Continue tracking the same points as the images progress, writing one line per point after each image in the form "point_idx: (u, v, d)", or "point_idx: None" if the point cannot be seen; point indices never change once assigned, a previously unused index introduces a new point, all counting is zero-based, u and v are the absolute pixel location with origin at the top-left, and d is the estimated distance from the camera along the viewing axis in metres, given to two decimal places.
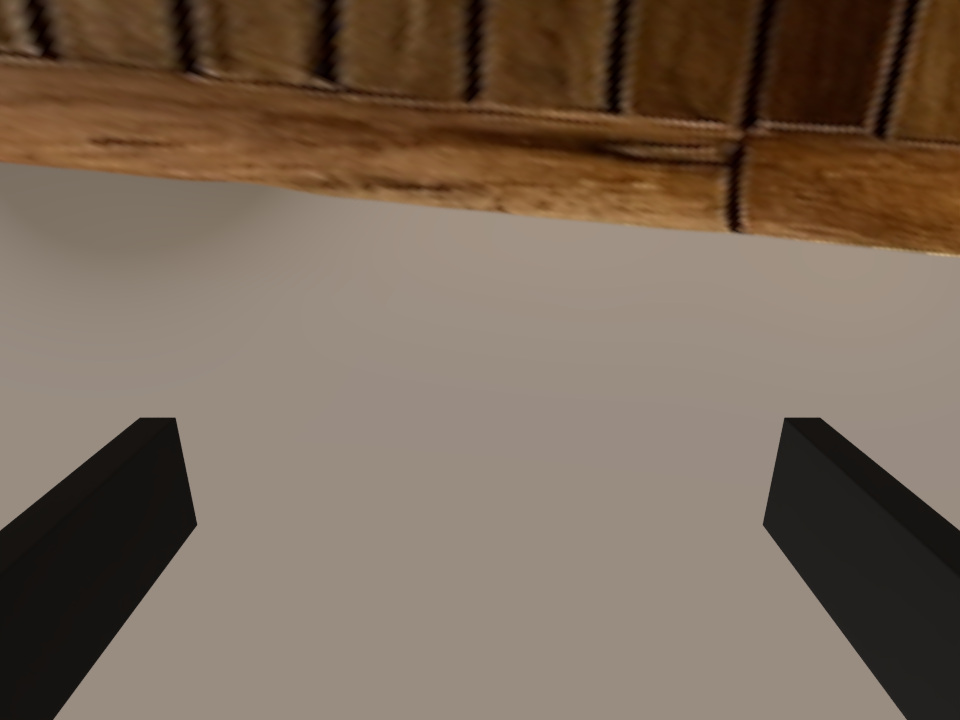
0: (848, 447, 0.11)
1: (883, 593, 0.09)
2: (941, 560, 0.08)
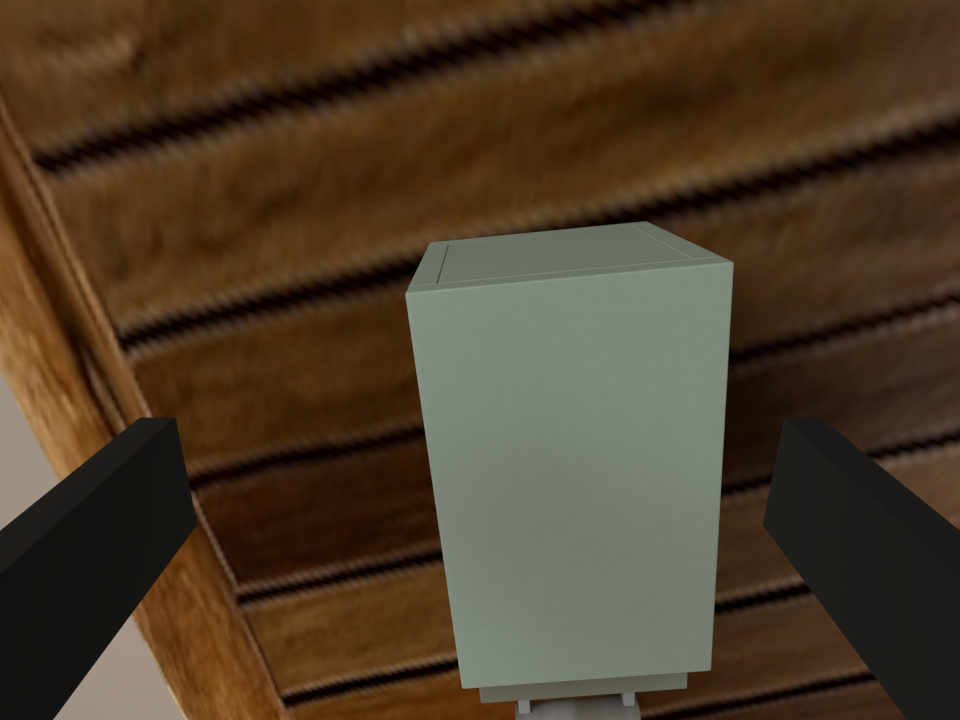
0: (848, 447, 0.11)
1: (882, 593, 0.09)
2: (941, 560, 0.08)
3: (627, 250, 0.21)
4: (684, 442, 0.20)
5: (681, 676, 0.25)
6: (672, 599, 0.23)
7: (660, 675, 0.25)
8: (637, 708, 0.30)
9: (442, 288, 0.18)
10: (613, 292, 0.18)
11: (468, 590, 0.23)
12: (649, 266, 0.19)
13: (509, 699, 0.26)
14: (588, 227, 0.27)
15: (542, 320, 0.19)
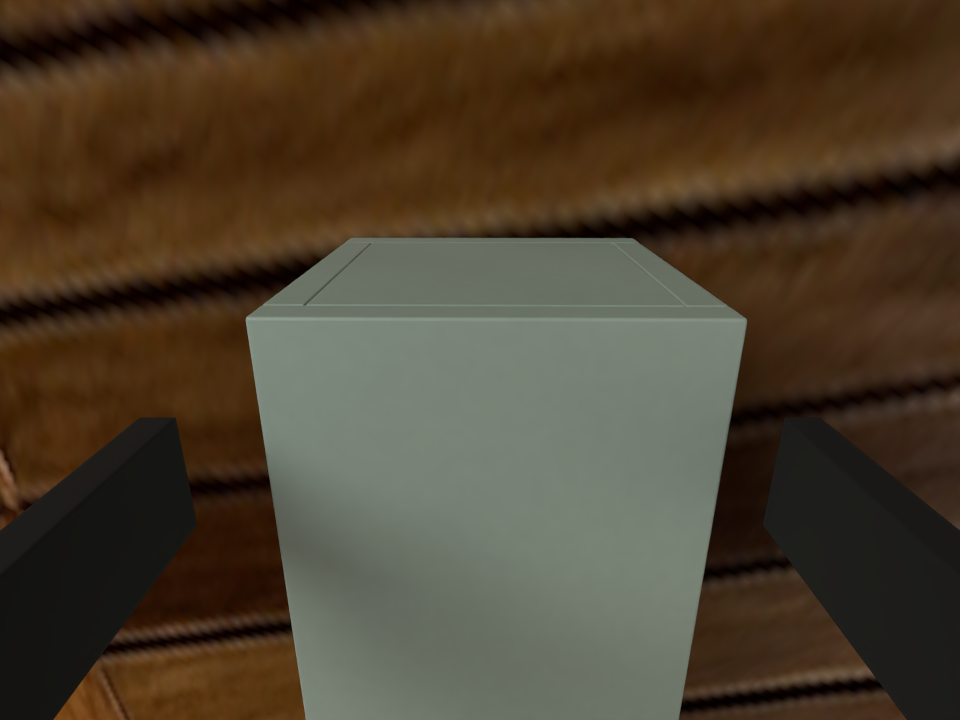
0: (848, 447, 0.11)
1: (882, 593, 0.09)
2: (941, 560, 0.08)
3: (596, 279, 0.15)
4: (648, 565, 0.14)
5: None
6: None
7: None
8: None
9: (303, 315, 0.12)
10: (562, 346, 0.12)
11: None
12: (620, 311, 0.12)
13: None
14: (557, 238, 0.21)
15: (453, 377, 0.12)
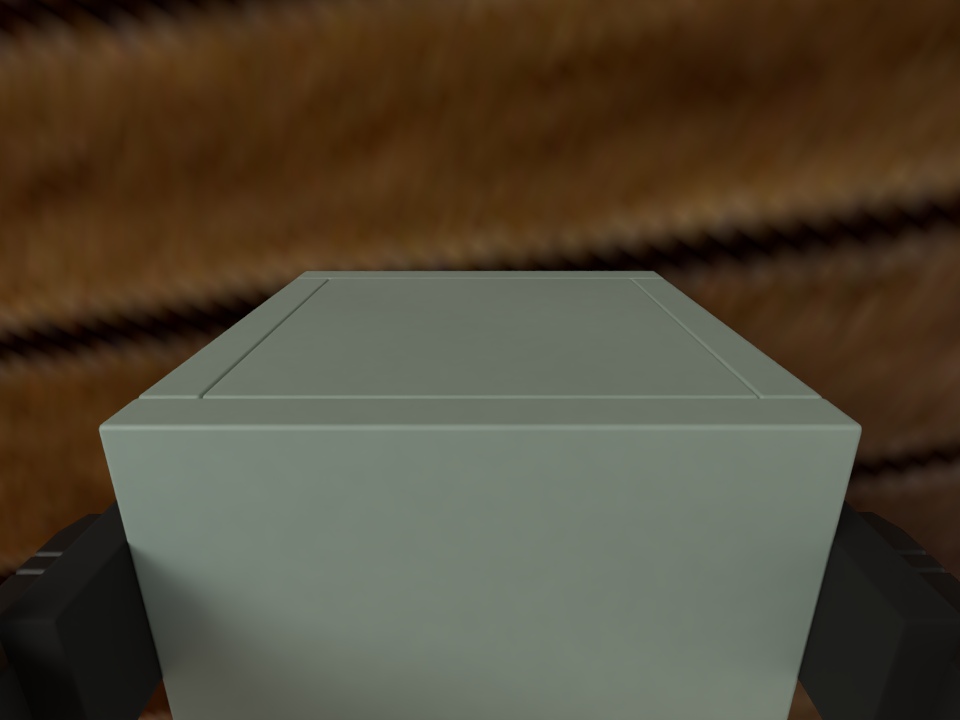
0: None
1: None
2: None
3: (621, 343, 0.11)
4: None
5: None
6: None
7: None
8: None
9: (189, 421, 0.08)
10: (582, 465, 0.08)
11: None
12: (668, 410, 0.08)
13: None
14: (561, 272, 0.17)
15: (418, 509, 0.08)
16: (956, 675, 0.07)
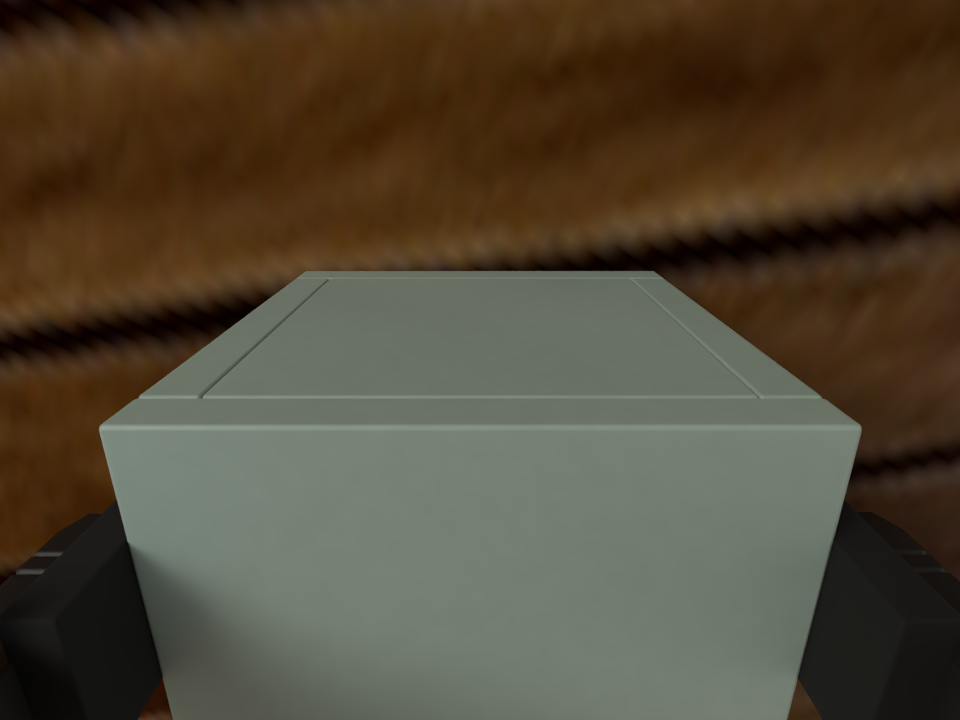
0: None
1: None
2: None
3: (621, 343, 0.11)
4: None
5: None
6: None
7: None
8: None
9: (188, 421, 0.08)
10: (582, 466, 0.08)
11: None
12: (668, 411, 0.08)
13: None
14: (561, 272, 0.17)
15: (418, 509, 0.08)
16: (955, 674, 0.07)
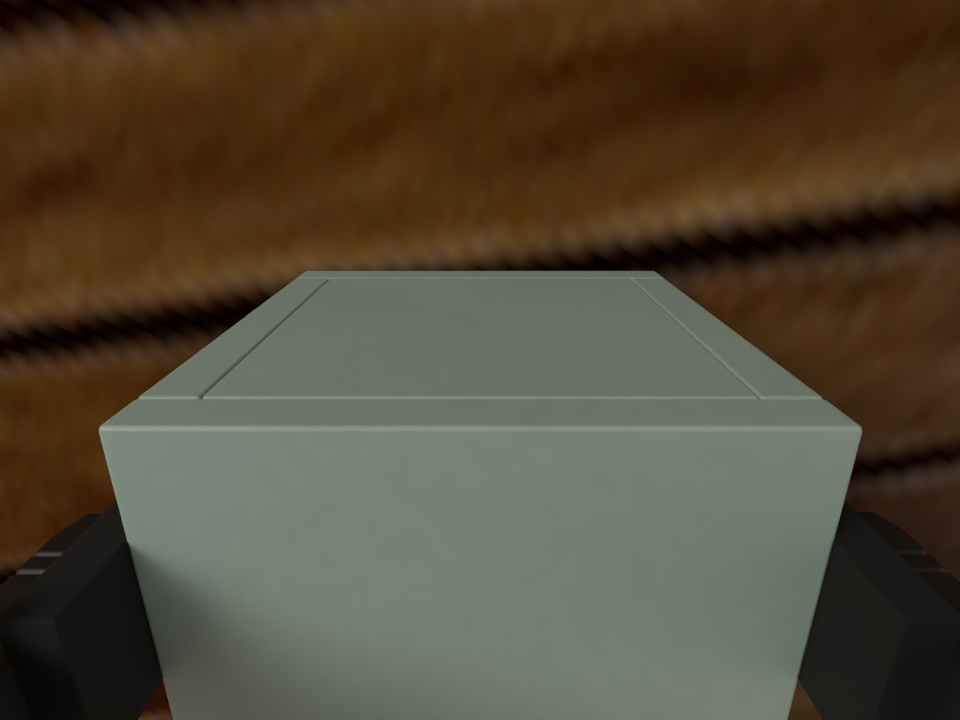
0: None
1: None
2: None
3: (621, 343, 0.11)
4: None
5: None
6: None
7: None
8: None
9: (188, 422, 0.08)
10: (582, 467, 0.08)
11: None
12: (668, 411, 0.08)
13: None
14: (561, 271, 0.17)
15: (418, 510, 0.08)
16: (956, 675, 0.07)
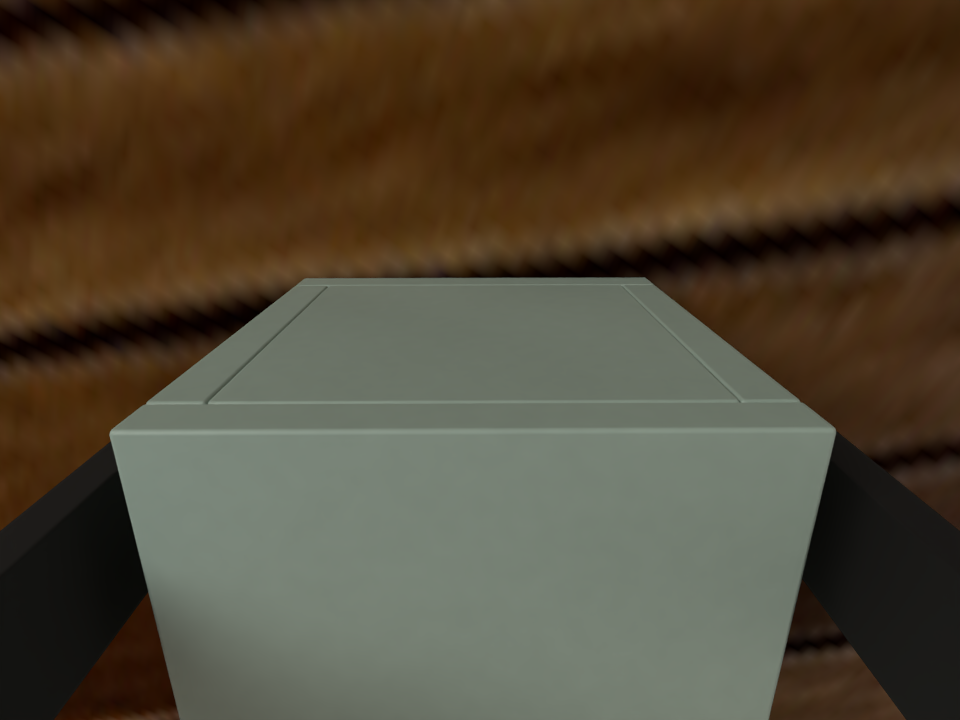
0: (847, 447, 0.11)
1: (881, 592, 0.09)
2: (940, 560, 0.08)
3: (610, 349, 0.11)
4: None
5: None
6: None
7: None
8: None
9: (195, 426, 0.08)
10: (571, 467, 0.08)
11: None
12: (653, 414, 0.09)
13: None
14: (554, 278, 0.17)
15: (414, 509, 0.09)
16: None
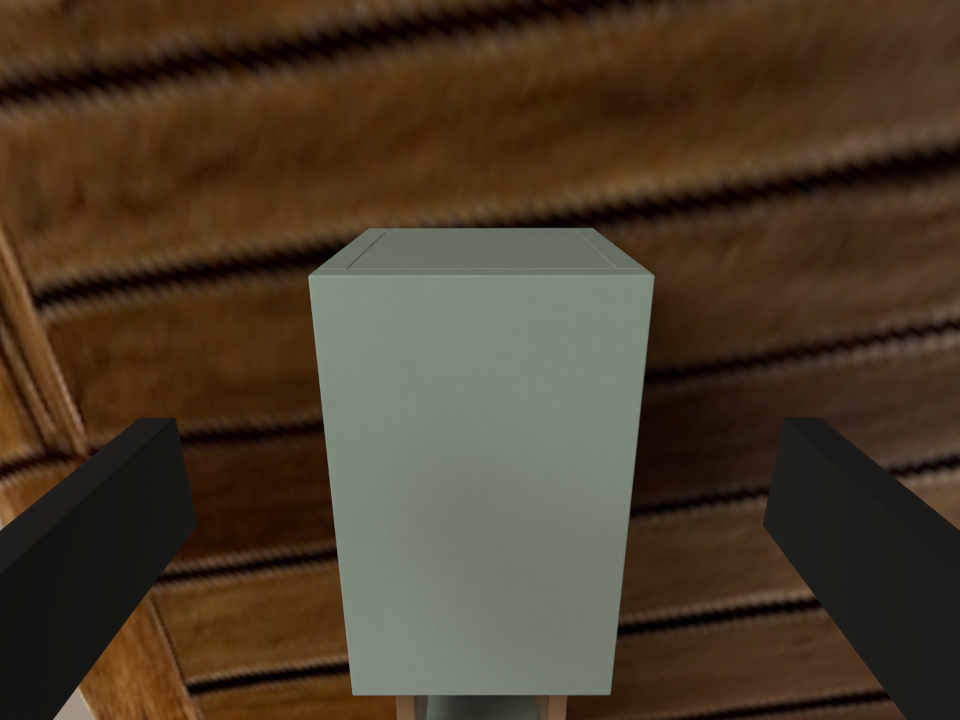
0: (848, 447, 0.11)
1: (883, 593, 0.09)
2: (941, 560, 0.08)
3: (557, 254, 0.21)
4: (594, 458, 0.19)
5: None
6: (574, 619, 0.22)
7: None
8: None
9: (348, 274, 0.17)
10: (528, 295, 0.18)
11: (363, 594, 0.21)
12: (568, 271, 0.18)
13: None
14: (533, 228, 0.27)
15: (452, 317, 0.18)
16: None
